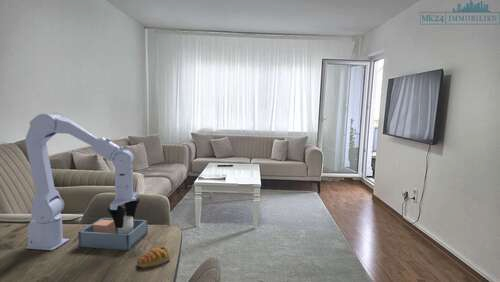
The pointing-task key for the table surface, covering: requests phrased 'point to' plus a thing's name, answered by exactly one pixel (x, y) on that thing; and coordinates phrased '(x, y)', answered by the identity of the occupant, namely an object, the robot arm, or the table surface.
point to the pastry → (154, 257)
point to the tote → (113, 236)
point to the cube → (104, 226)
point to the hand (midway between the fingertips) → (125, 223)
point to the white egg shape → (126, 225)
